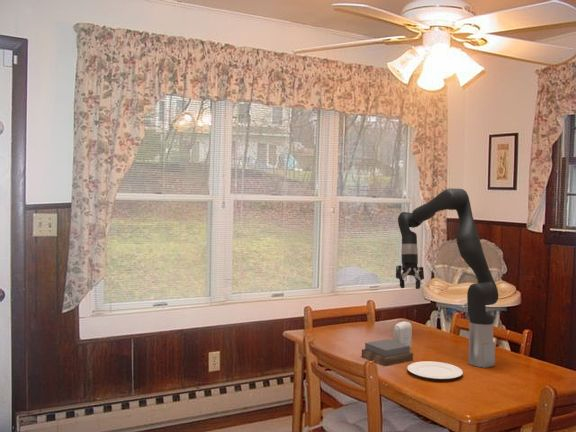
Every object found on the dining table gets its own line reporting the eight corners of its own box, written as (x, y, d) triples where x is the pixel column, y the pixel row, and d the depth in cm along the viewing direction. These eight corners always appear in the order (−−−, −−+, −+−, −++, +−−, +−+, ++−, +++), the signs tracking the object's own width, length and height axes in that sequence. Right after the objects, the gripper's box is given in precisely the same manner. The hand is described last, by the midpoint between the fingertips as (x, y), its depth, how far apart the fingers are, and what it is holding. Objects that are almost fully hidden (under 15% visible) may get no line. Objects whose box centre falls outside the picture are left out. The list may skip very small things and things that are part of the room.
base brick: (412, 360, 231) (413, 353, 231) (385, 366, 223) (385, 358, 223) (388, 351, 244) (388, 344, 244) (361, 356, 236) (361, 349, 236)
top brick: (409, 353, 231) (409, 345, 231) (385, 357, 224) (385, 350, 224) (388, 345, 242) (388, 338, 242) (365, 349, 235) (365, 342, 235)
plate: (468, 371, 218) (468, 366, 218) (455, 387, 200) (455, 381, 200) (416, 362, 229) (416, 358, 229) (399, 377, 211) (399, 372, 211)
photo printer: (404, 346, 252) (405, 319, 252) (412, 348, 249) (413, 321, 249) (391, 350, 245) (391, 322, 245) (399, 352, 242) (399, 324, 242)
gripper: (401, 252, 257) (402, 287, 255) (426, 254, 263) (427, 288, 260) (392, 253, 264) (392, 288, 261) (417, 255, 270) (417, 289, 267)
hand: (410, 288), depth 261 cm, fingers open, 8 cm apart
